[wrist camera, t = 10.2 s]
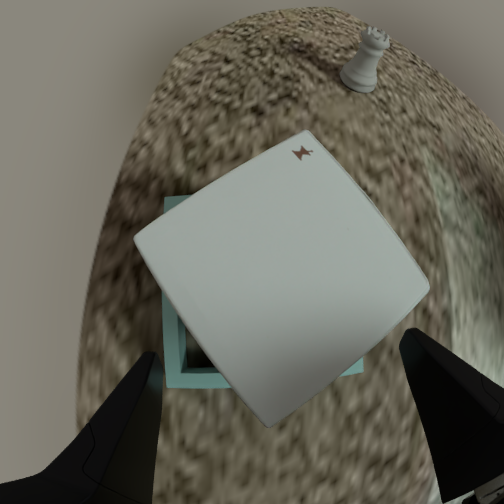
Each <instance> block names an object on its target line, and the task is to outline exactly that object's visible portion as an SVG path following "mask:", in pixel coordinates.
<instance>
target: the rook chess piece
mask: <svg viewBox="0 0 504 504" xmlns="http://www.w3.org/2000/svg"><path fill="white" fill-rule="evenodd" d="M384 34H385V32H384V31H383V30H381V31H380V32H377V28H376V27H372V30H371V27H370V26H368V27H367V29H366V30H364V31H362V32H361V36H362V38H363V41H362V42H360V43H359V46H360V48H359V50H358V52H357V53H356V55H355V56H354V58H353V59H352V60H350V61H349V62H347V63H345V64H344V65H343V68H342V70H341V71H340V77H341V80H342V82H343V83H344V84H345V85H346V86H347V87H349V88H350V89H352V90H354V91H356V92H360V93H368V92H371V91H373V90H374V88H375V85H376V83H377V76H376V74H377V72H376V67H377V63H378V60H379V58H380V57H381V56H383V52H382V51H383V49H386V48H388V47H390V44H389V41H388V40H389V35H387V34H386V35H385V36H384Z"/></svg>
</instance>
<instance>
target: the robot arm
mask: <svg viewBox="0 0 504 504" xmlns="http://www.w3.org/2000/svg"><path fill="white" fill-rule="evenodd" d="M399 350H400V354H401V357H402V361H403V365H404V368H405V372H406V376H407V380H408V383H409V386H410V389H411V392H412V395H413V398H414V400H415V403H416V406H417V409H418V412H419V415H420V419H421V422H422V425H423V428H424V432H425V435H426V438H427V442H428V445H429V449H430V453H431V456H432V460H433V464H434V469H435V473H436V477H437V481H438V486H439V490H440V495H441V500H442V503H443V504H444V503H446V502H449V501H451V500H453V499H456V498H458V497H460V496H462V495H464V494H466V493H468V492H470V491H473V490H474V493H473V494H471V495H470V496H468V497H467V498H465V499H464V500H463V502H462V504H504V388H502V387H501V386H499V385H497V384H496V383H494V382H493V381H491V380H490V379H489V378H487V377H486V376H484V375H483V374H482V373H480V372H479V371H477V370H476V369H475V368H473V367H472V366H470V365H469V364H468V363H466V362H465V361H463V360H462V359H461V358H459V357H458V356H456V355H455V354H454V353H452V352H451V351H449V350H448V349H446V348H445V347H444V346H442V345H441V344H439V343H438V342H436V341H435V340H433V339H432V338H431V337H429V336H428V335H426V334H425V333H423V332H422V331H420V330H419V329H417V328H410V329H407V330H406V331H405V333H404V335H403V337H402V339H401V341H400V344H399ZM162 388H163V367H162V364H161V361H160V359H159V356H158V354H157V353H156V352H150V351H147V352H144V353H143V354H142V356H141V357H140V358H139V359H138V360H137V362H136V363H135V364H134V365H133V367H132V368H131V369H130V370H129V372H128V373H127V374H126V375H125V376H124V378H123V379H122V380H121V381H120V383H119V384H118V385H117V386H116V388H115V389H114V390H113V391H112V393H111V394H110V395H109V396H108V398H107V399H106V400H105V401H104V403H103V404H102V405H101V406H100V408H99V409H98V410H97V412H96V413H95V414H94V415H93V417H92V418H91V419H90V420H89V422H88V423H87V424H86V425H85V427H84V428H83V429H82V430H81V432H80V433H79V434H78V435H77V436H76V438H75V439H74V440H73V441H72V442H71V443H70V444H69V446H67V447H66V448H65V449H64V450H63V452H61V454H60V455H59V456H58V457H57V458H55V460H53V461H52V463H50V465H48V466H47V467H46V468H45V469H44V470H43V471H42V472H40V473H38V474H36V475H33V476H30V477H26V478H23V479H19V480H15V481H11V482H6V483H2V484H0V504H152V495H153V483H154V472H155V462H156V453H157V444H158V436H159V428H160V421H161V413H162Z"/></svg>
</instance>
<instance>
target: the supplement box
mask: <svg viewBox="0 0 504 504" xmlns="http://www.w3.org/2000/svg"><path fill="white" fill-rule="evenodd" d="M133 240H134V242H135V244H136V246H137V248H138V250H139V252H140V254H141V256H142V258H143V259H144V261H145V263H146V265H147V267H148V268H149V270H150V272H151V273H152V275H153V277H154V278H155V280H156V282H157V283H158V285H159V286H160V288H161V290H162V291H163V293H164V294H165V296H166V297H167V299H168V301H169V302H170V304H171V305H172V307H173V308H174V310H175V311H176V313H177V314H178V316H179V317H180V319H181V320H182V322H183V323H184V325H185V326H186V328H187V329H188V331H189V332H190V333H191V335H192V336H193V338H194V339H195V340H196V342H197V343H198V344H199V346H200V347H201V349H202V350H203V351H204V353H205V354H206V355H207V357H208V358H209V359H210V361H211V362H212V363H213V365H214V366H215V367H216V368H217V370H218V371H219V372H220V374H221V375H222V376H223V377H224V379H225V380H226V381H227V383H228V384H229V385H230V386H231V388H232V389H233V390H234V391H235V393H236V394H237V395H238V396H239V398H240V399H241V400H242V401H243V402H244V403H245V404H246V406H247V407H248V408H249V409H250V410H251V411H252V412H253V414H254V415H255V416H256V417H257V418H258V419H259V420H260V421H261V422H262V423H263V424H264V426H266V427H267V428H271V427H272V426H274V425H275V424H276V423H278V422H279V421H281V420H282V419H284V418H285V417H287V416H288V415H289V414H291V413H292V412H294V411H295V410H297V409H298V408H299V407H301V406H302V405H303V404H305V403H306V402H307V401H309V400H310V399H311V398H313V397H314V396H315V395H317V394H318V393H319V392H320V391H322V390H323V389H324V388H325V387H327V386H328V385H329V384H330V383H332V382H333V381H334V380H335V379H337V378H338V377H339V376H340V375H341V374H342V373H344V372H345V371H346V370H347V369H349V368H350V367H351V366H352V365H353V364H355V363H356V362H357V361H358V360H359V359H360V358H362V357H363V356H364V355H365V354H366V353H367V352H368V351H370V350H371V349H372V348H373V347H374V346H375V345H376V344H377V343H378V342H379V341H381V340H382V339H383V338H384V337H385V336H386V335H387V334H388V333H389V332H390V331H391V330H392V329H393V328H394V327H395V326H396V325H397V324H398V323H399V322H400V321H401V320H402V319H403V318H404V317H405V316H406V315H407V314H408V313H409V312H410V311H411V310H412V309H413V308H414V307H415V306H416V305H417V304H418V303H419V302H420V300H421V299H422V298H423V297H424V296H425V295H426V294H427V293H428V291H429V289H430V285H429V282H428V280H427V278H426V276H425V275H424V273H423V272H422V270H421V269H420V267H419V266H418V264H417V263H416V261H415V260H414V258H413V257H412V256H411V254H410V253H409V251H408V250H407V248H406V247H405V245H404V244H403V243H402V241H401V240H400V238H399V237H398V236H397V234H396V233H395V231H394V230H393V229H392V227H391V226H390V225H389V224H388V222H387V221H386V220H385V218H384V217H383V216H382V214H381V213H380V212H379V210H378V209H377V208H376V207H375V205H374V203H373V202H372V201H371V200H370V198H369V197H368V196H367V195H366V194H365V193H364V191H363V190H362V189H361V188H360V187H359V186H358V185H357V184H356V182H355V181H354V180H353V179H352V178H351V176H350V175H349V174H348V173H347V172H346V171H345V170H344V169H343V167H342V166H341V165H340V164H339V163H338V162H337V161H336V160H335V159H334V157H333V156H332V155H331V154H330V153H329V152H328V151H327V150H326V149H325V148H324V147H323V146H322V145H321V144H320V142H319V141H318V140H317V139H316V138H315V137H314V136H313V135H312V134H311V133H310V132H309V131H308V130H302V131H300V132H299V133H297V134H295V135H293V136H291V137H290V138H288V139H286V140H284V141H283V142H281V143H279V144H277V145H276V146H274V147H272V148H270V149H269V150H267V151H265V152H263V153H261V154H260V155H258V156H256V157H254V158H253V159H251V160H249V161H247V162H246V163H244V164H242V165H240V166H239V167H237V168H235V169H233V170H232V171H230V172H229V173H227V174H225V175H224V176H222V177H220V178H219V179H217V180H215V181H214V182H212V183H211V184H209V185H207V186H206V187H204V188H203V189H201V190H199V191H198V192H196V193H195V194H193V195H192V196H190V197H189V198H187V199H186V200H184V201H183V202H181V203H180V204H178V205H177V206H175V207H173V208H172V209H170V210H169V211H168V212H166V213H165V214H163V215H161V216H160V217H159V218H157V219H156V220H154V221H153V222H152V223H150V224H149V225H147V226H146V227H145V228H143V229H142V230H141V231H139V232H138V233H137V234H136V235H135V236H134V238H133Z"/></svg>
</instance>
